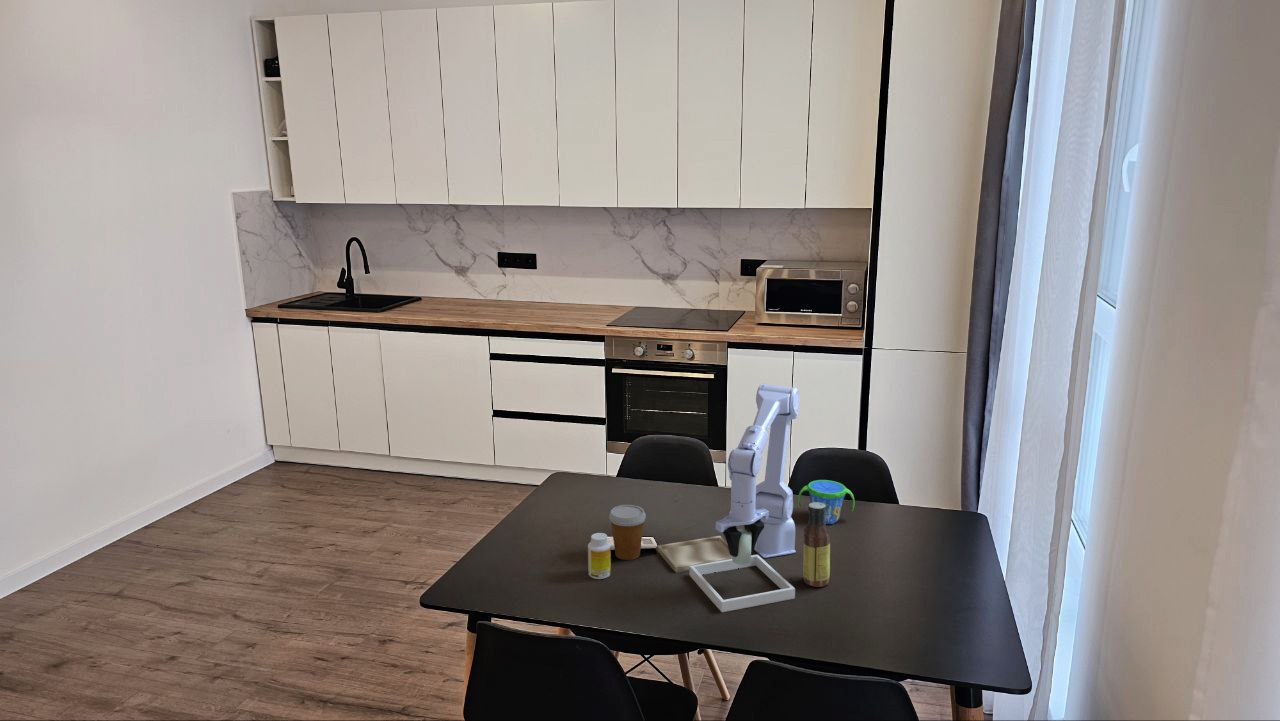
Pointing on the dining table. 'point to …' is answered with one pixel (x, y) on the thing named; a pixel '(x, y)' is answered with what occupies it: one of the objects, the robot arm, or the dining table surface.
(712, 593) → the white hollow square frame
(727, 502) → the dining table surface
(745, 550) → the sage cylinder
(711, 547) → the birch tray
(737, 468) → the robot arm
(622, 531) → the disposable coffee cup
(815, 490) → the snack cup
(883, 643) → the dining table surface
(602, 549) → the supplement bottle
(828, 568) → the sauce bottle
